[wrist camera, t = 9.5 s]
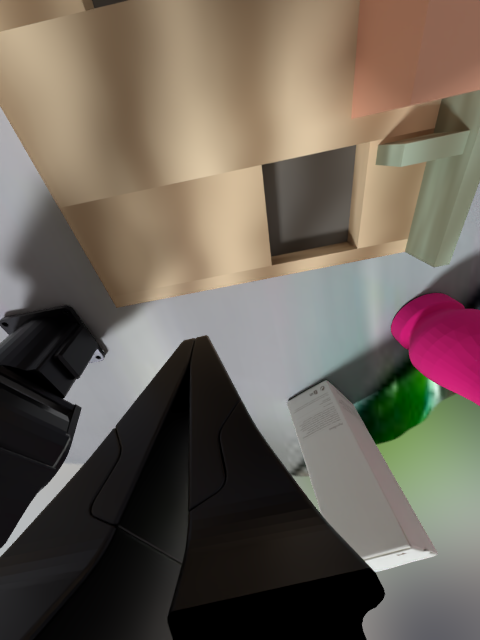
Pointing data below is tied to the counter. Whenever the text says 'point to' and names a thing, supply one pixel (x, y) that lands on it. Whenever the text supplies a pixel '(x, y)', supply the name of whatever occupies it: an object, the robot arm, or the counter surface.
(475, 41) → the block
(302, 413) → the skincare box
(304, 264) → the board
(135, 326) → the counter surface
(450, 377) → the pepper mill
